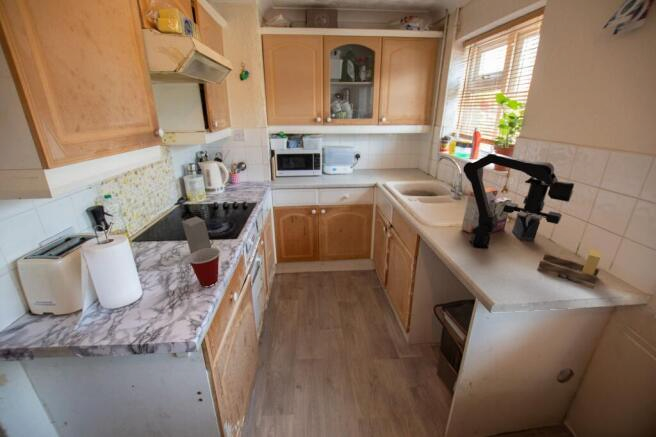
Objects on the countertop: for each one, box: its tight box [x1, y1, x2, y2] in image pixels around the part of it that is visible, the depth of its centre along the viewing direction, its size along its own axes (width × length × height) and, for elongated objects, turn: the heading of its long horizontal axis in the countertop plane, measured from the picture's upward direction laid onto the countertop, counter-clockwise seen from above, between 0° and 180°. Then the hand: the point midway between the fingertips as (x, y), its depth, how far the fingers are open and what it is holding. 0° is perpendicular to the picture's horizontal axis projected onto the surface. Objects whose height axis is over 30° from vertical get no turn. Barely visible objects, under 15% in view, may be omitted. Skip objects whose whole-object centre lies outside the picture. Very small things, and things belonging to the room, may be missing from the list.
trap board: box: [536, 252, 600, 289], centre depth 112 cm, size 17×11×4 cm, turn 45°
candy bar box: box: [489, 196, 512, 234], centre depth 146 cm, size 11×5×16 cm, turn 115°
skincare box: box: [181, 216, 212, 254], centre depth 122 cm, size 8×7×16 cm
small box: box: [511, 212, 541, 243], centre depth 140 cm, size 11×6×10 cm, turn 168°
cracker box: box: [461, 187, 499, 234], centre depth 145 cm, size 14×6×21 cm, turn 117°
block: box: [582, 248, 603, 276], centre depth 106 cm, size 3×6×9 cm, turn 135°
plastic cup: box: [186, 247, 221, 287], centre depth 103 cm, size 11×11×12 cm
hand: (525, 232), depth 119 cm, fingers closed
